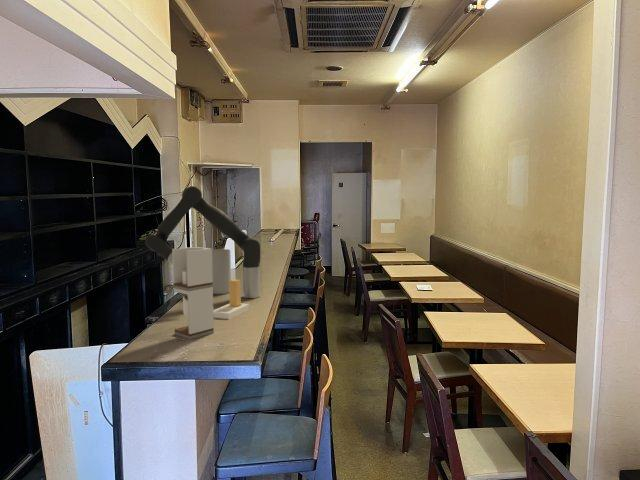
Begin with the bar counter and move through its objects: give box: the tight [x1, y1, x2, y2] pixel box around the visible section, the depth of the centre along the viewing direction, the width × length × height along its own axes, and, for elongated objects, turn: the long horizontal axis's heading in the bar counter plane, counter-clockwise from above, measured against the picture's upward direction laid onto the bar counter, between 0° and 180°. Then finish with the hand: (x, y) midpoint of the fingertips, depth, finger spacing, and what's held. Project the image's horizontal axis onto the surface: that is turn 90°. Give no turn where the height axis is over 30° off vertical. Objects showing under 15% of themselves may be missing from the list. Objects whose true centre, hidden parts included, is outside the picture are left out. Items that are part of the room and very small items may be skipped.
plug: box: [228, 278, 242, 307], centre depth 223 cm, size 4×4×15 cm
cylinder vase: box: [212, 248, 232, 295], centre depth 268 cm, size 12×12×25 cm
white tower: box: [172, 246, 215, 340], centre depth 185 cm, size 11×11×35 cm
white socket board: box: [213, 302, 250, 320], centre depth 218 cm, size 20×10×3 cm, turn 162°
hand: (205, 278), depth 227 cm, fingers open, 8 cm apart
